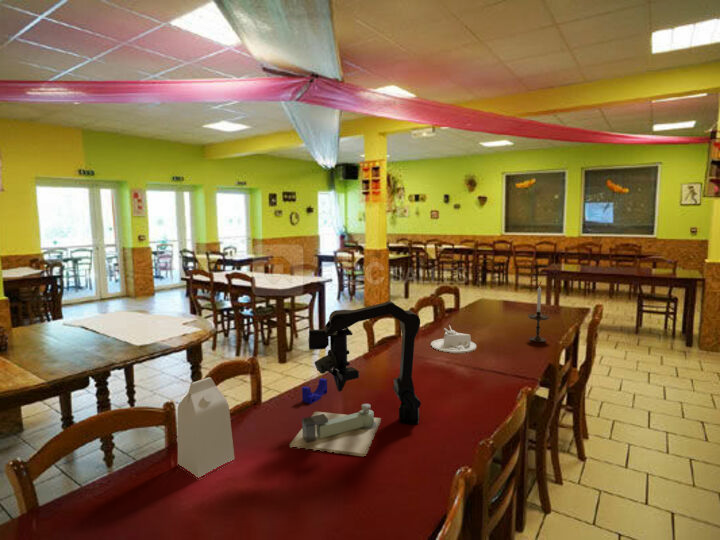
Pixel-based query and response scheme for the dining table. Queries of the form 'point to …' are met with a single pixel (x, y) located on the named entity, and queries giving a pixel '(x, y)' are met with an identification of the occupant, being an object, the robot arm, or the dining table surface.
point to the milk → (204, 429)
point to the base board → (340, 439)
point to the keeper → (312, 426)
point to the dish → (454, 342)
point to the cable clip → (316, 395)
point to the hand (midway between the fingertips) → (339, 391)
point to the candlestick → (538, 318)
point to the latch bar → (347, 422)
